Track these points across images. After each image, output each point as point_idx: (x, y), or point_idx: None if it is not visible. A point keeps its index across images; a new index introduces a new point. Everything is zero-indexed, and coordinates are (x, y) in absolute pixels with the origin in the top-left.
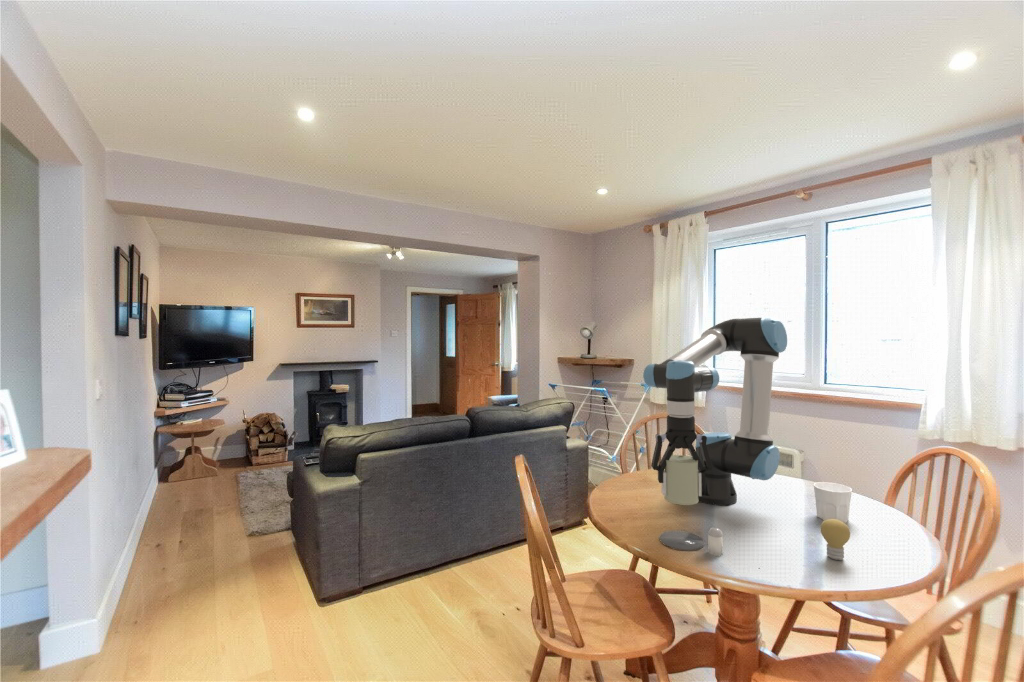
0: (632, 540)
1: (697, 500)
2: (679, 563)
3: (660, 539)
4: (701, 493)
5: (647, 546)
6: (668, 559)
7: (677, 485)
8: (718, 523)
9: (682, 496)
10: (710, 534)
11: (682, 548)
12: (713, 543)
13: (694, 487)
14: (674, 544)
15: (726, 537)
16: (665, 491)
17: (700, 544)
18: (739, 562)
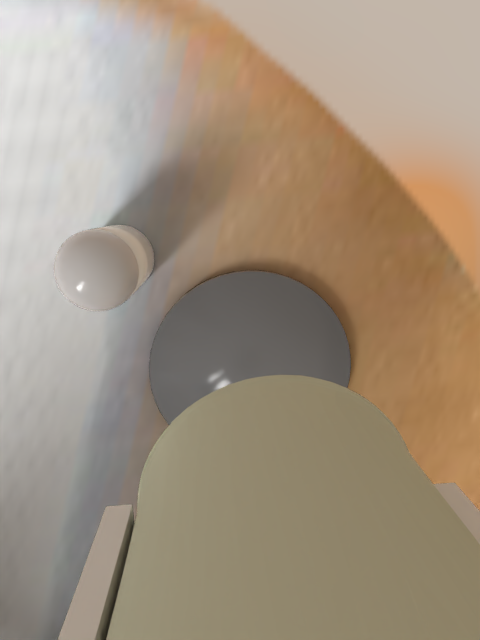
0: (470, 352)
1: (157, 451)
2: (320, 127)
3: (349, 359)
4: (99, 525)
5: (420, 297)
6: (360, 167)
7: (414, 501)
8: (38, 568)
9: (319, 415)
10: (128, 251)
11: (271, 273)
12: (124, 232)
13: (179, 513)
14: (299, 309)
15: (32, 430)
16: (461, 512)
17: (175, 322)
18: (27, 166)
